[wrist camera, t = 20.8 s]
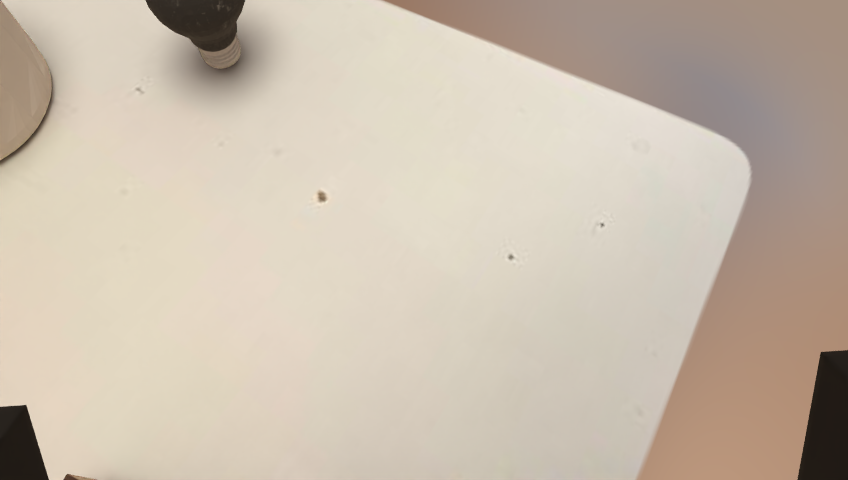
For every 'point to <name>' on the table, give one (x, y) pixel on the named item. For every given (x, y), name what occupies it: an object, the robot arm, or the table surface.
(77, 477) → the shelf
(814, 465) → the robot arm
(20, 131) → the mug
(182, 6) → the light bulb
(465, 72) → the table surface
